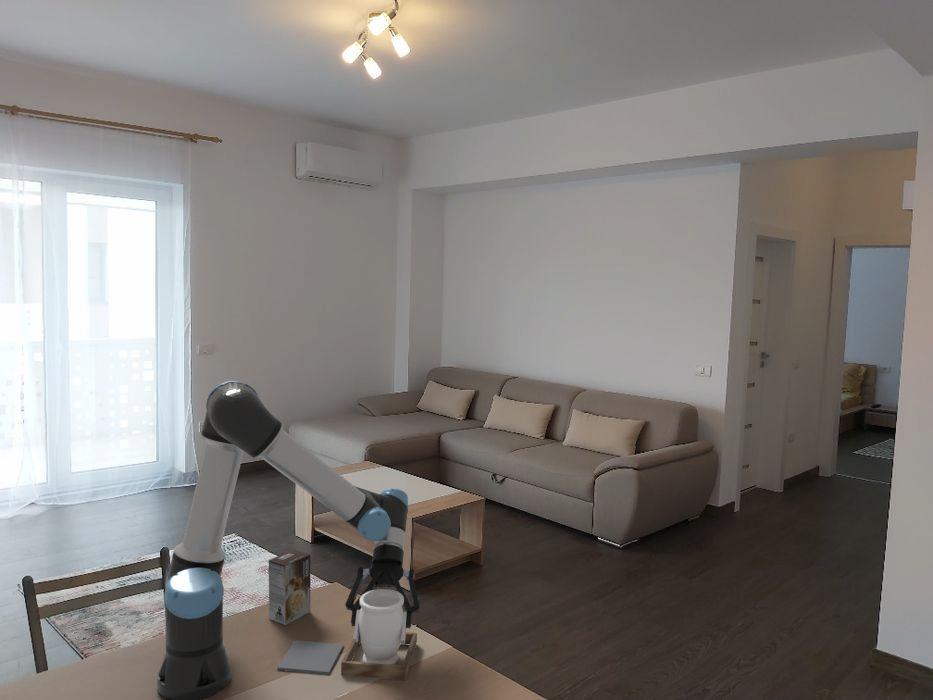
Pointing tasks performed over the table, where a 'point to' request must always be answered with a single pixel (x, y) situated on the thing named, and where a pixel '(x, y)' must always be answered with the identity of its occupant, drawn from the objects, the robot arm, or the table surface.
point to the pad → (311, 657)
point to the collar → (378, 669)
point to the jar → (381, 625)
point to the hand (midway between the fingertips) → (379, 641)
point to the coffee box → (289, 586)
